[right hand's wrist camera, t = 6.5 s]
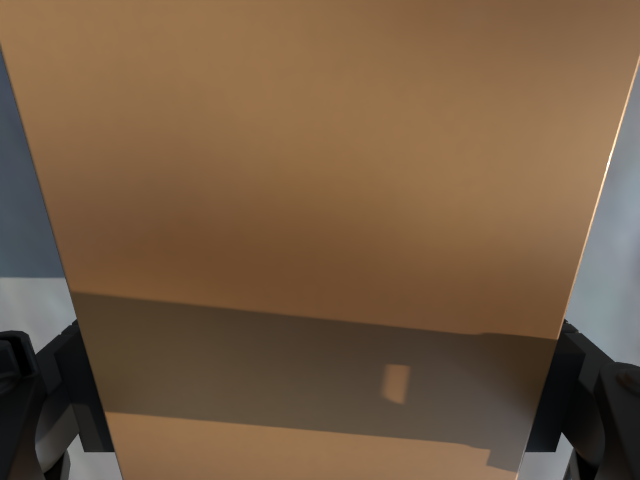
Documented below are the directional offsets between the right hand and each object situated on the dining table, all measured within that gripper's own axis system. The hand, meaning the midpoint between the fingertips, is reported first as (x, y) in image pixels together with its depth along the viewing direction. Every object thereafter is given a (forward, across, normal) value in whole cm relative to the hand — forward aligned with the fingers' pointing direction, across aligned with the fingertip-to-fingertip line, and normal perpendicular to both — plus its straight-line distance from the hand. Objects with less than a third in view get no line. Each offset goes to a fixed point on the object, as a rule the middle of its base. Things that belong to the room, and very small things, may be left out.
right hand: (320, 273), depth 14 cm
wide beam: (0, 0, -30) cm, 31 cm away
